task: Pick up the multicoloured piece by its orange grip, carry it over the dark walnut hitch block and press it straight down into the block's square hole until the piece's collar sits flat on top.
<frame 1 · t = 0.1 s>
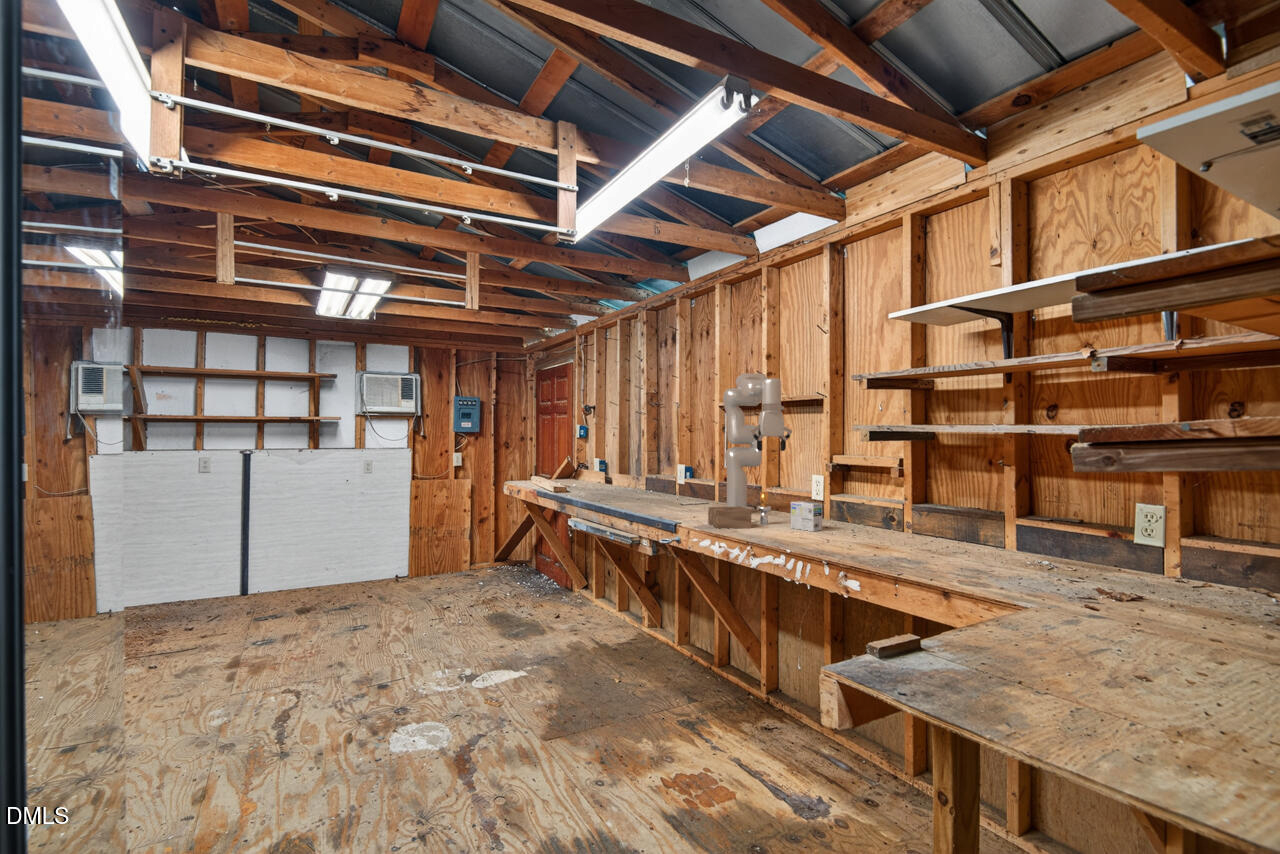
hand: (771, 450, 242), 31 cm above the workbench, tool pointing down, fingers open, 9 cm apart
hitch block: (729, 525, 244), on the workbench
light bulb box: (806, 530, 236), on the workbench
multicoloured piece: (764, 524, 249), on the workbench
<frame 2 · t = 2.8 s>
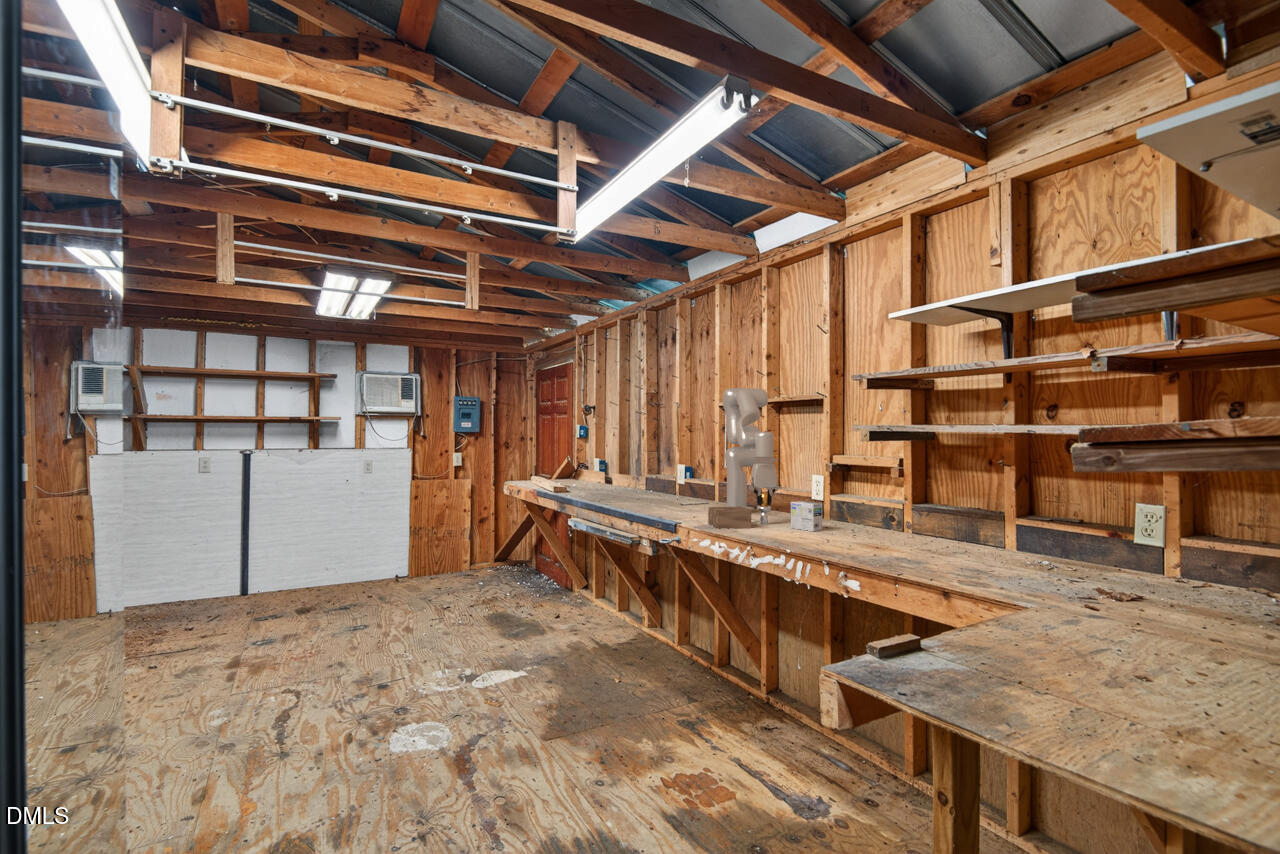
hand: (764, 504, 249), 8 cm above the workbench, tool pointing down, fingers closed on multicoloured piece, 3 cm apart
multicoloured piece: (764, 524, 249), on the workbench, touching gripper
everything else where it was.
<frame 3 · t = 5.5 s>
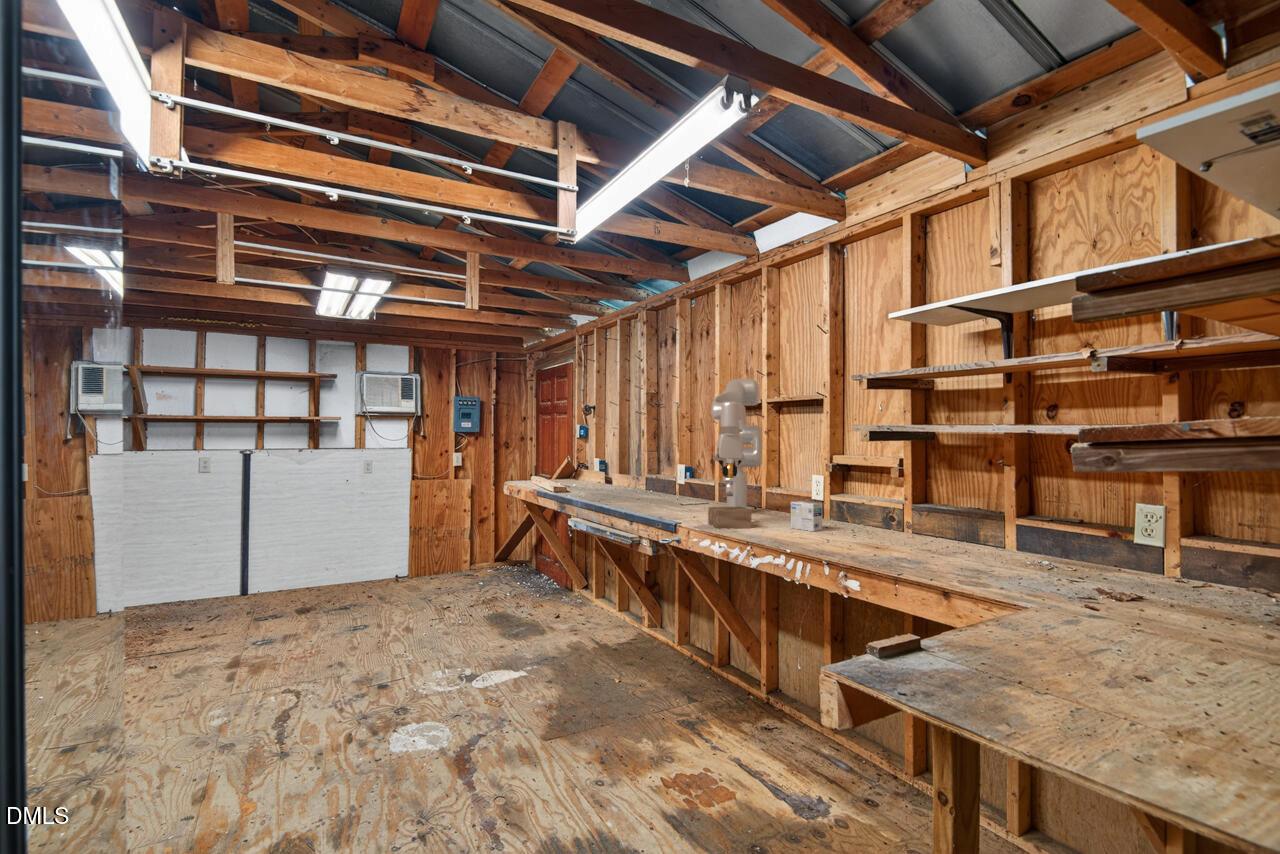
hand: (729, 475, 244), 21 cm above the workbench, tool pointing down, fingers closed on multicoloured piece, 3 cm apart
multicoloured piece: (729, 495, 244), point 12 cm above the workbench, touching gripper
everything else where it was.
when the fingers open (9 cm above the workbench, at t = 8.3 s): multicoloured piece stays where it is, resting on hitch block.
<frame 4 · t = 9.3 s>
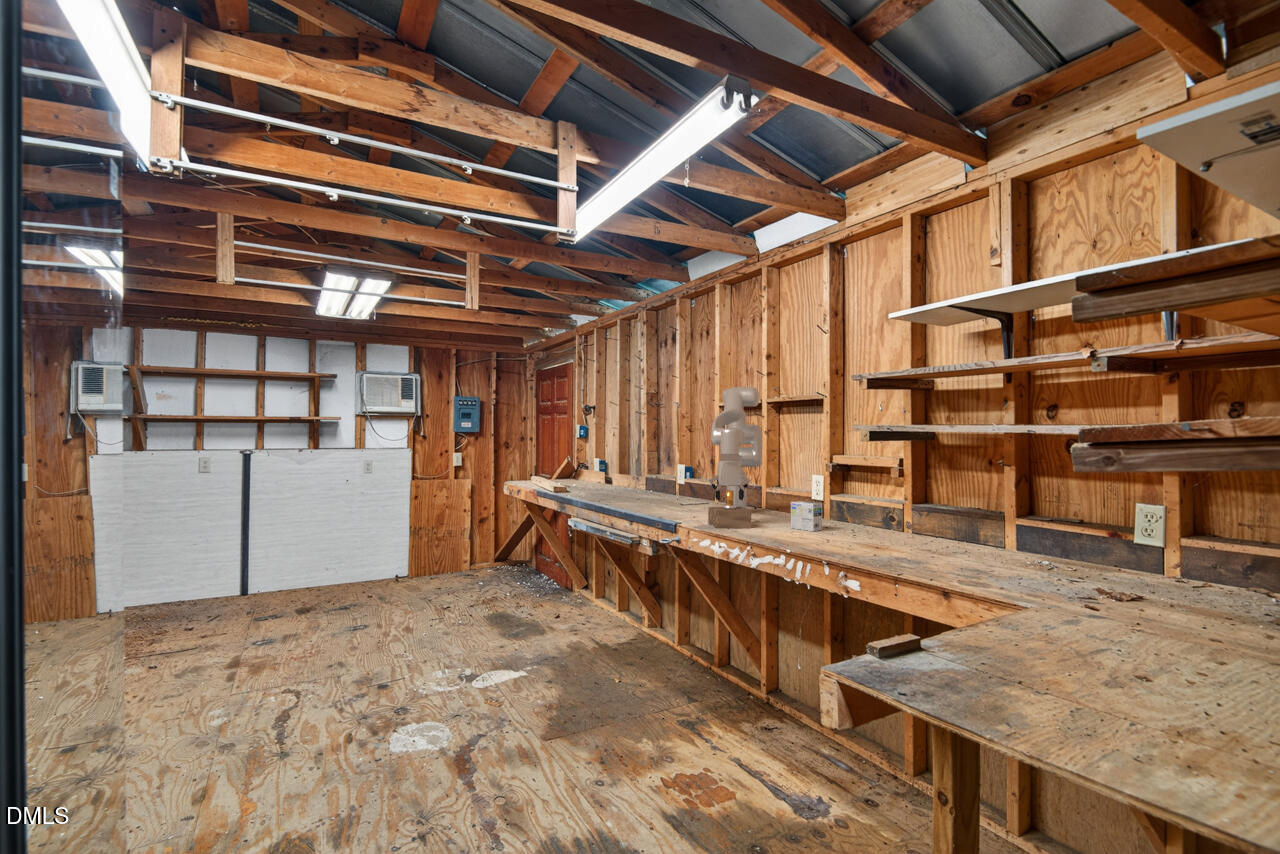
hand: (729, 500, 244), 11 cm above the workbench, tool pointing down, fingers open, 9 cm apart
multicoloured piece: (729, 523, 244), point 1 cm above the workbench, touching hitch block
everything else where it was.
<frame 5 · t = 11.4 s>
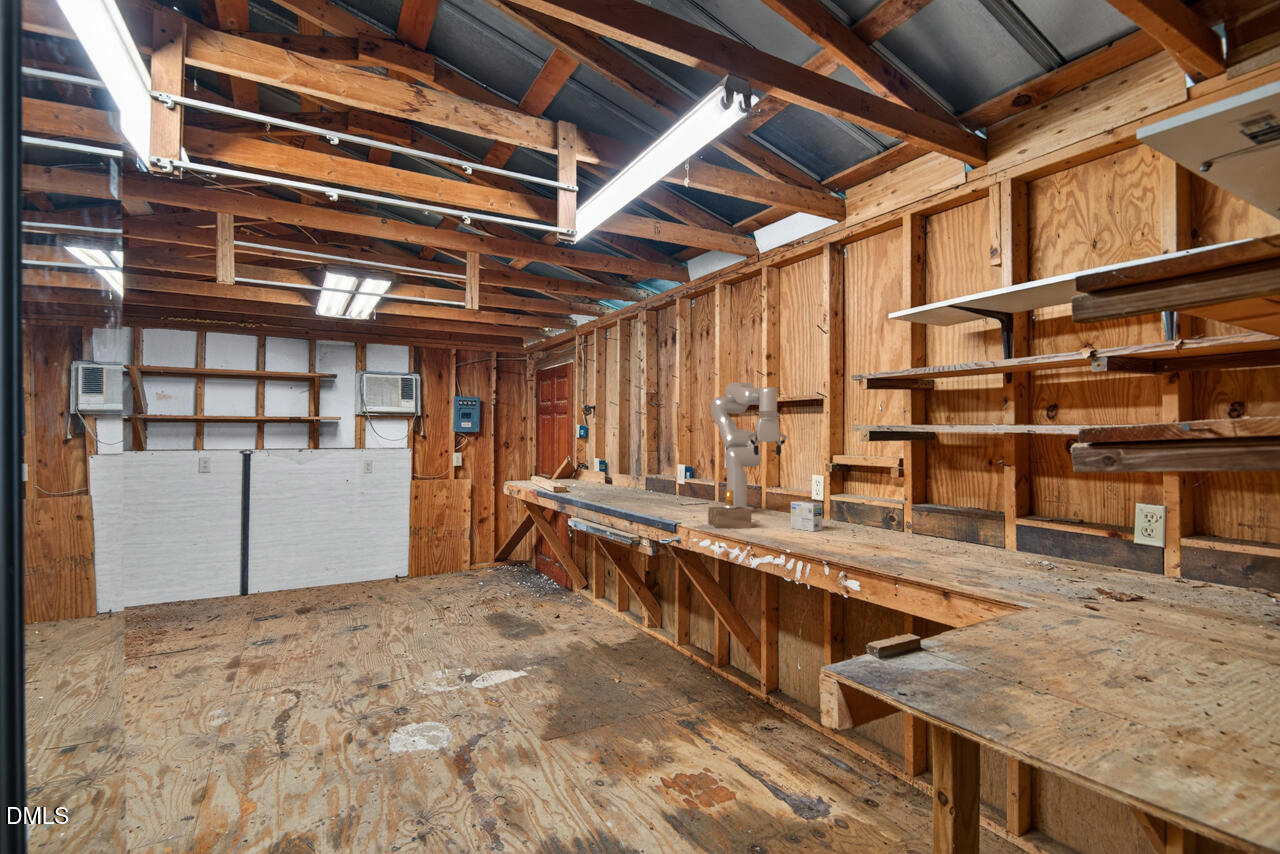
hand: (767, 455, 259), 29 cm above the workbench, tool pointing down, fingers open, 9 cm apart
nothing on the workbench moved.
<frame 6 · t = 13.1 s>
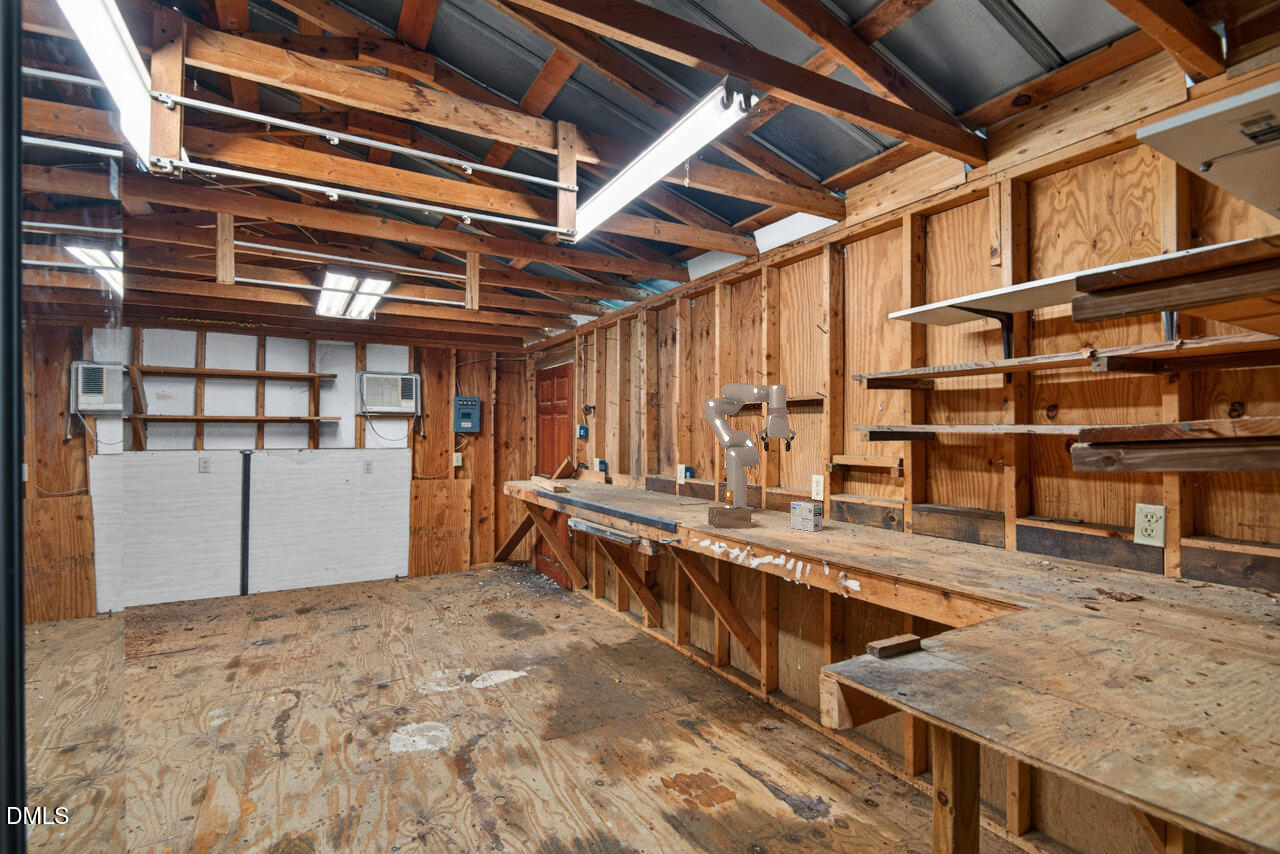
hand: (777, 451, 262), 30 cm above the workbench, tool pointing down, fingers open, 9 cm apart
nothing on the workbench moved.
at the end: multicoloured piece 0.1 cm off-centre on the hitch block, point 1.0 cm above the hitch block's base; multicoloured piece tilted 0°; the gripper is holding nothing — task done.
